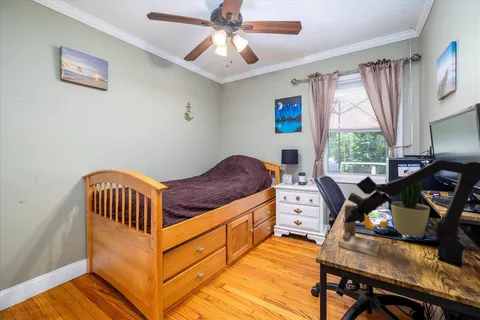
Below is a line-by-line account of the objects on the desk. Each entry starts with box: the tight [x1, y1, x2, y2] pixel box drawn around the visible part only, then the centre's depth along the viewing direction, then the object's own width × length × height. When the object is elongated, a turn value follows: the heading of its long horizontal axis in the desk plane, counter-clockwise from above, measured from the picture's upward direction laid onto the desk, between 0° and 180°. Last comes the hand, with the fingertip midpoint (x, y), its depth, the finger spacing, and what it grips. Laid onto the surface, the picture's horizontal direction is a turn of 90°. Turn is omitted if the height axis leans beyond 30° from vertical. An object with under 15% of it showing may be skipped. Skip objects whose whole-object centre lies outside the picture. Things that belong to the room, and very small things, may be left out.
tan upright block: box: [343, 203, 356, 240], centre depth 99 cm, size 4×12×16 cm, turn 141°
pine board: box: [337, 232, 381, 257], centre depth 94 cm, size 15×10×3 cm, turn 51°
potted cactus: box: [390, 181, 431, 236], centre depth 104 cm, size 15×15×30 cm
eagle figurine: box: [425, 225, 438, 239], centre depth 97 cm, size 8×7×9 cm
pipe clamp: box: [361, 215, 389, 231], centre depth 112 cm, size 12×4×6 cm, turn 22°
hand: (346, 220), depth 103 cm, fingers closed on tan upright block, 3 cm apart
